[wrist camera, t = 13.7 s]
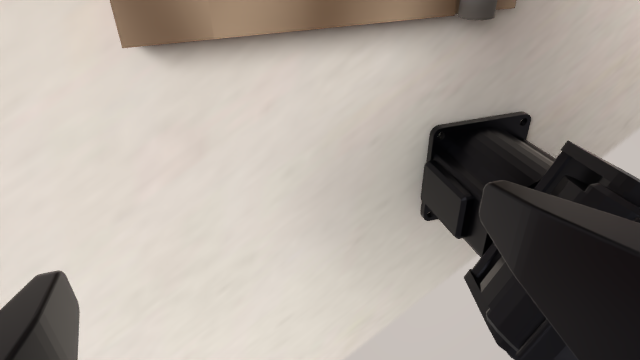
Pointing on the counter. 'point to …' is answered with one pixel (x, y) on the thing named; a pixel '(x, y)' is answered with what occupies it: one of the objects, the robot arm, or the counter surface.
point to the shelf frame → (273, 16)
